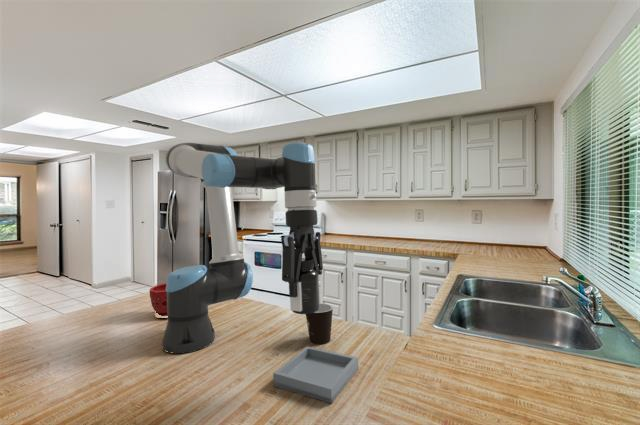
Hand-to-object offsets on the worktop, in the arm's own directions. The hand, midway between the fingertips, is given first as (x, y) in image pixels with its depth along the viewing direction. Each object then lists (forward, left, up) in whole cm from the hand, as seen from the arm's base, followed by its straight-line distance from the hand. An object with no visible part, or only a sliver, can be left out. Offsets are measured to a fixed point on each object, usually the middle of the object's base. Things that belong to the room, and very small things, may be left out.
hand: (305, 305), depth 73 cm
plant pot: (-74, +16, -18) cm, 78 cm away
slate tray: (+2, +2, -18) cm, 18 cm away
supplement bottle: (0, 0, -1) cm, 1 cm away
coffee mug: (-8, +22, -18) cm, 29 cm away
